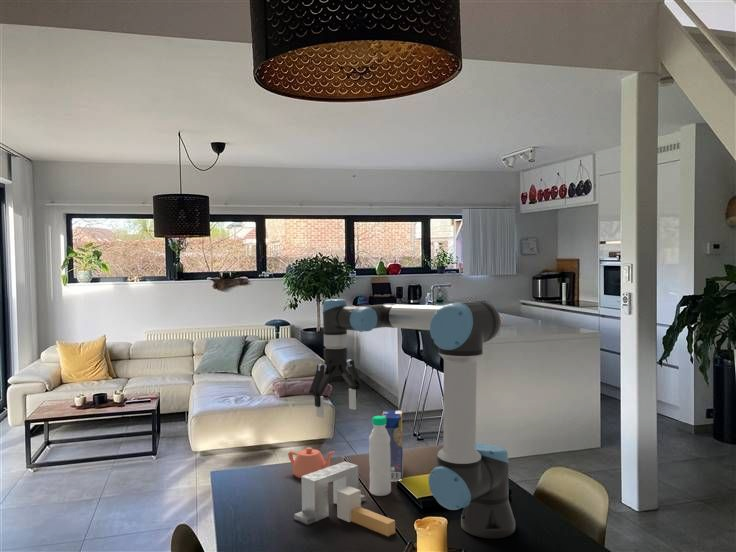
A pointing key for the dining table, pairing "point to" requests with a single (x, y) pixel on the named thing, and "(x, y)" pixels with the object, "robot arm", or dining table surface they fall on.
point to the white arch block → (325, 490)
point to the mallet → (361, 512)
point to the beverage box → (395, 442)
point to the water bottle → (379, 458)
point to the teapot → (308, 461)
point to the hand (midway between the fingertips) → (336, 412)
